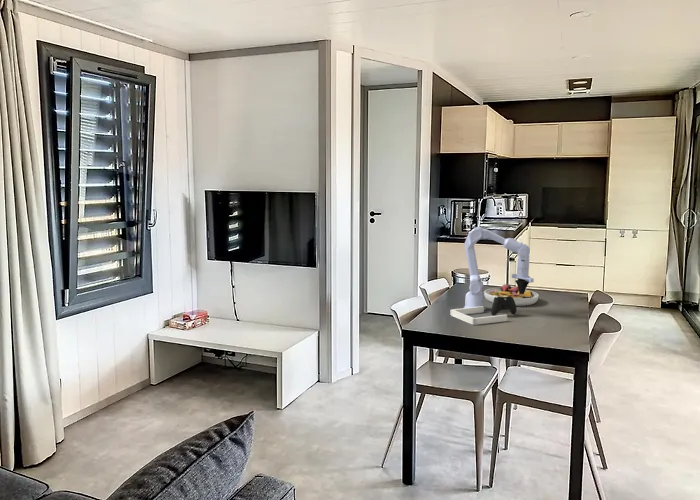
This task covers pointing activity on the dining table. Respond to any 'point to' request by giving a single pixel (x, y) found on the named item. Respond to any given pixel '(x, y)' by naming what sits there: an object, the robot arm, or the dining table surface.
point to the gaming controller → (503, 305)
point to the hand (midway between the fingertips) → (521, 293)
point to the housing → (475, 321)
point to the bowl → (512, 295)
